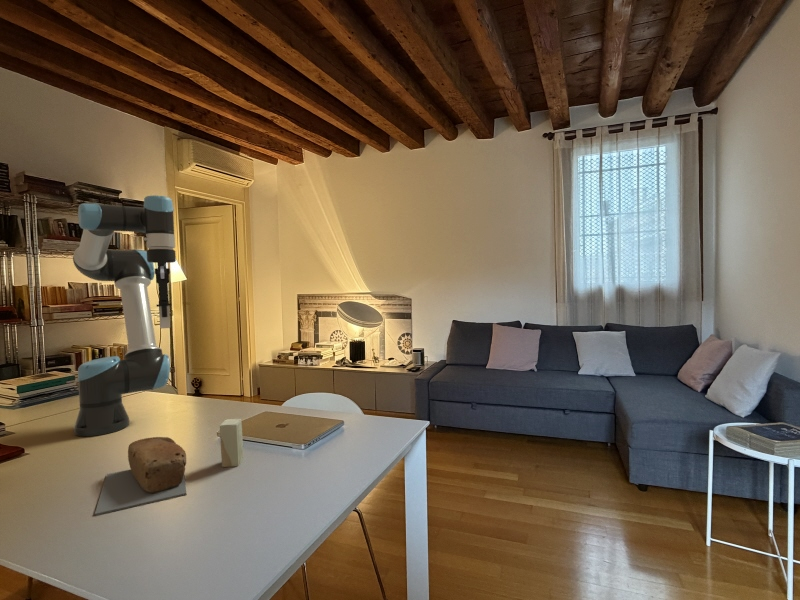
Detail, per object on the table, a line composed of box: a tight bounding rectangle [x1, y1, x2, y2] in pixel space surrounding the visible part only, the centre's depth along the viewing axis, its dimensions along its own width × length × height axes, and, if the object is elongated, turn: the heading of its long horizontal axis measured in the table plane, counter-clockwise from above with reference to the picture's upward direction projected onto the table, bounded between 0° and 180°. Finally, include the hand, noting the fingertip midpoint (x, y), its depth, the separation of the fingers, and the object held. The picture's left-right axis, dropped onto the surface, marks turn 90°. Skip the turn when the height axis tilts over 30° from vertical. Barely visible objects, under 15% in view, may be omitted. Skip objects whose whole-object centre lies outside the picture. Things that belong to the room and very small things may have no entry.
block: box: [127, 436, 187, 493], centre depth 108 cm, size 11×8×20 cm
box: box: [219, 418, 244, 468], centre depth 115 cm, size 5×4×11 cm
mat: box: [94, 468, 188, 517], centre depth 104 cm, size 22×17×1 cm
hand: (165, 327), depth 132 cm, fingers closed
